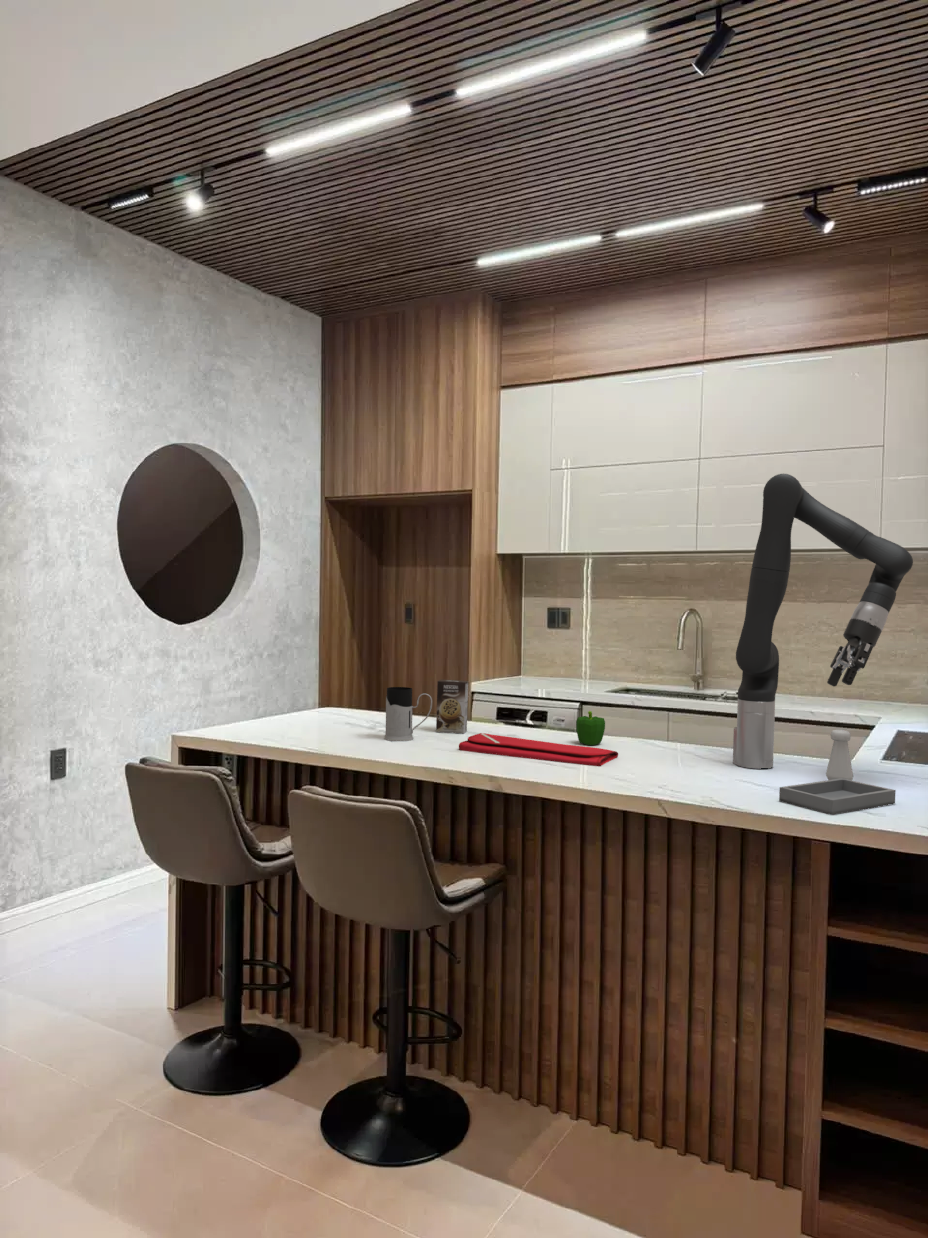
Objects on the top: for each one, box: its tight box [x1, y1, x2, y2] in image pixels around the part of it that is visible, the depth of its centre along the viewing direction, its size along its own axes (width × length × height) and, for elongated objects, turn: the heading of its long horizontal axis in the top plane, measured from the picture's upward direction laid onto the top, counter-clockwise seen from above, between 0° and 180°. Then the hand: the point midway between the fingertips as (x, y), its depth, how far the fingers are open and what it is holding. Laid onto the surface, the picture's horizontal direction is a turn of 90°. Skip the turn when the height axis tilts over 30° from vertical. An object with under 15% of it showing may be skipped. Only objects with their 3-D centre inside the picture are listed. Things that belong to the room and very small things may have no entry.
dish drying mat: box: [458, 732, 619, 767], centre depth 235 cm, size 16×41×4 cm, turn 63°
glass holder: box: [383, 686, 433, 742], centre depth 253 cm, size 9×14×15 cm, turn 82°
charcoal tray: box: [778, 778, 896, 816], centre depth 184 cm, size 13×21×3 cm, turn 121°
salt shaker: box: [825, 729, 854, 781], centre depth 202 cm, size 6×6×13 cm
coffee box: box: [435, 679, 469, 734], centre depth 269 cm, size 9×6×16 cm
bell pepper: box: [575, 710, 606, 746], centre depth 252 cm, size 8×8×10 cm
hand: (838, 684), depth 206 cm, fingers open, 8 cm apart
